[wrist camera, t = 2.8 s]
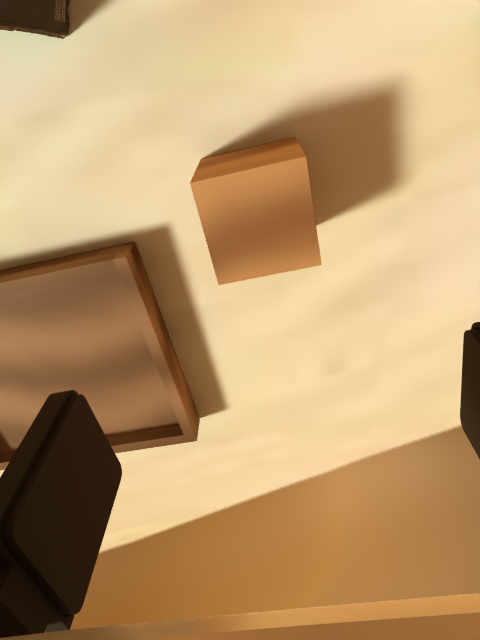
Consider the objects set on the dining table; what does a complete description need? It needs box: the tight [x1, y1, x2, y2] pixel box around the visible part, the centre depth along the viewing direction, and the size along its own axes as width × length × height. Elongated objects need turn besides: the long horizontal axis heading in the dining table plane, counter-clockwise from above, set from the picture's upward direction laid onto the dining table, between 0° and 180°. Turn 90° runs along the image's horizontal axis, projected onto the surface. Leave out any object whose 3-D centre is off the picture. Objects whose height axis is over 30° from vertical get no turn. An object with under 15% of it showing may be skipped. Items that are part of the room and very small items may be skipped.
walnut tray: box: [0, 242, 200, 470], centre depth 32 cm, size 16×18×2 cm
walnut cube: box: [190, 137, 321, 285], centre depth 24 cm, size 6×6×6 cm
